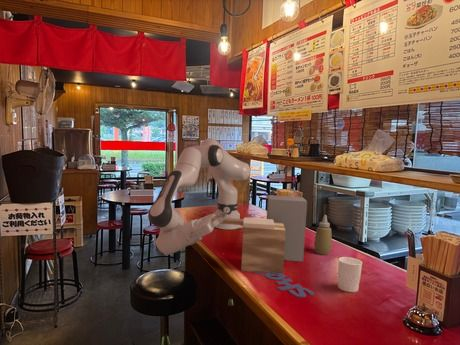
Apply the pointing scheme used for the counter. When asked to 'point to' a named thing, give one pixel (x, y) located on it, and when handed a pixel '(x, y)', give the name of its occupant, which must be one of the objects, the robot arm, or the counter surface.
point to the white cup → (349, 273)
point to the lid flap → (249, 222)
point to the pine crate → (263, 249)
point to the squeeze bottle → (323, 237)
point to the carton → (290, 223)
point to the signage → (287, 284)
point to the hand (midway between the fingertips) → (223, 216)
